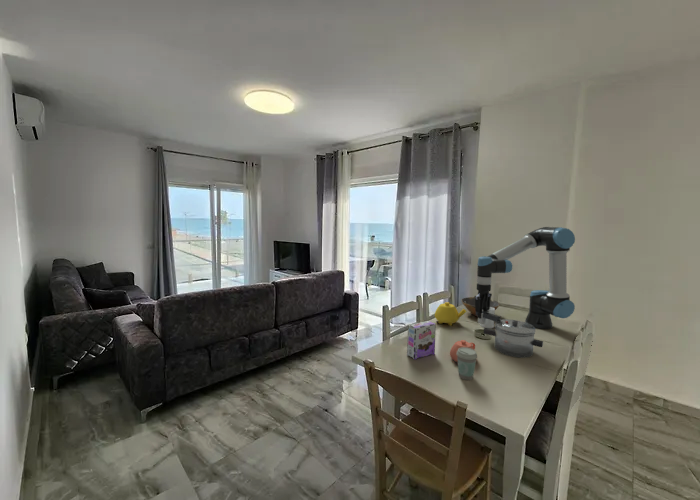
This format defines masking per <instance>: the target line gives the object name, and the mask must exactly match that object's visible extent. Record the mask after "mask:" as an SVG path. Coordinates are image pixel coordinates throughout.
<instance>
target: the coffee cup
mask: <svg viewBox="0 0 700 500" xmlns="http://www.w3.org/2000/svg"><path fill="white" fill-rule="evenodd" d="M456 354H457V359H458V362H457V369H458V370H457V371H458V377H459V378H461V379H462V380H463V381H464V380H465V381H471V380H473V378H474V372H475V369H476V362H477V359H478V354H477V351H476V349H475V350H473V349H471V348H466V347H462V348H459V349H458V351H457V353H456Z"/></svg>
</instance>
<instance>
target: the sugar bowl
mask: <svg viewBox="0 0 700 500" xmlns="http://www.w3.org/2000/svg"><path fill="white" fill-rule="evenodd" d="M462 347H466V348H471V349H473V350H475V351H476V344H475V342H468V341H467V340H465V339H462V340H457V341H456V342H454V344H453V345H452V346H451V348H450V351H449V356H450V358H451V359H452V360H453V361H454V362H456V363H458V359H457V354H456V353H457V351H458V349H459V348H462Z"/></svg>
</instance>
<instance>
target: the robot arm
mask: <svg viewBox="0 0 700 500" xmlns="http://www.w3.org/2000/svg"><path fill="white" fill-rule="evenodd" d="M575 241H576V237H575V233H574V232H573V231H572V230H571V229H569V228H567V227H559V226H557V227H553V226H552V227H550V226H543V227H539V228H537V229H534V230H533V231H530V232H529V233H527V234H525V235H524V236H523V237H521V238H520V239H518V240H516V241H514V242H513V243H511V244H508V245H507V246H505V247H503V248H501V249H499V250H496V251H495V252H492V253H491V254H489V255H488V256H487V255H486V256H485V255H484V256H483V255H482V256H479V257H478V259H477V272H476V273H477V276H476V277H477V278H476V290H477V295H474V296H473V297H475V311H476V312H478V316H477V323H478V324H479V325H480V324H483V322H484V323H486V318H483V313H482V310H483V311H484V312H489V311H488V310H489V309H490V301H491V300H492V294H493V293H491V290H492V288H491V287H492V274H506V273H507V274H509V273H511V272H512V270H513V263H512V261H511V260H510V259H512V258H514V257H516V256H518V255H520V254H521V253H523V252H526V251H527V250H529V249H535V248H537V247H541V246H544V247H545V251H546V252H547V253H548V276H549V277H548V284H549V285H548V287H549V288H548V289H549V290H544V289H543V290H542V289H536V290H535V289H534V290H532V291H530V295H529V304H528V305H529V309H528V310H529V311H528V313H527V316H526V318H525V321H524V322H526V323H528V324H531V325H533V326H534V327H535V328H536V329H541V330H549V329H553V321H552V318H551V316H554V317H556V318H559V319H568V318H569V317H571V316H572V315H573V313H574V312H575V310H576V309H575V307H576V306H575V303H574V302H573V301H572V300H570V298H571V296H570V294H569V293H567V279H568V278H567V269H568V268H567V260H568V259H567V253H569V252H570V251H571V248H572V247H573V246H574V244H575Z"/></svg>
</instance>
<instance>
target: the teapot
mask: <svg viewBox="0 0 700 500" xmlns="http://www.w3.org/2000/svg"><path fill="white" fill-rule="evenodd" d="M465 313H467V309H464V308H463V309H462V310H461V311H460V312H459V311H458V309H457V307H456V306H455V304H452V303H450V302H448V301H445V302H444V303H440V304H439V305H438V306H437V308H436V310H435V312H434V318H435V319H436V320H437V323H438V324H439V325H440V324H441V325H443V323H444V324H448V326H450V327H452V326H453V324H454V323H457V322H458V321H459V319H460V318H461V317H463V315H465Z"/></svg>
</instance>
